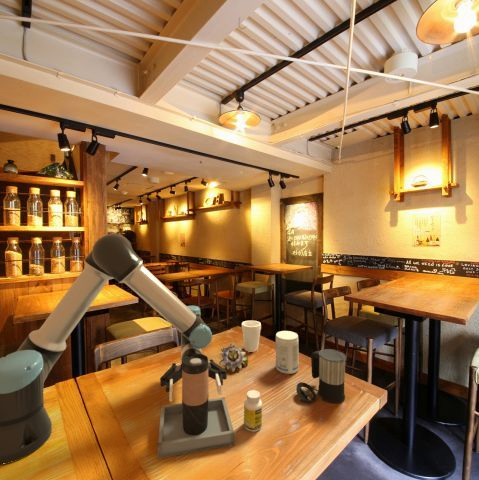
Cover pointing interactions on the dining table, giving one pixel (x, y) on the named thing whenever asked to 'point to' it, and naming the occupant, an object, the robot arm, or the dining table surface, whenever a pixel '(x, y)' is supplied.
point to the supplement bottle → (253, 411)
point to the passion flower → (233, 357)
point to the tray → (183, 443)
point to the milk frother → (326, 376)
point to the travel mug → (195, 394)
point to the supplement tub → (287, 352)
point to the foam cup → (251, 334)
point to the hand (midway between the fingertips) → (195, 393)
